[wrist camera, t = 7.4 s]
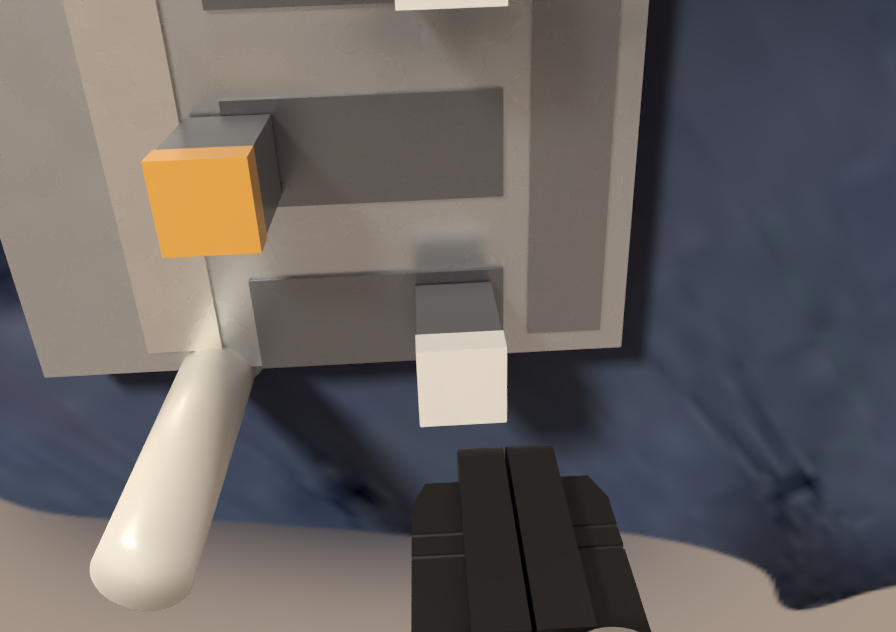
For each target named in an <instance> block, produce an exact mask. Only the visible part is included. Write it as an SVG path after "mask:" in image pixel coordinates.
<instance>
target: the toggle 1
mask: <svg viewBox="0 0 896 632" xmlns="http://www.w3.org/2000/svg"><path fill="white" fill-rule="evenodd" d="M141 164H142V169H143V173H144V178H145V182H146V187H147V192H148V196H149V201H150V205H151V210H152V214H153V219H154V224H155V228H156V233H157V237H158V242H159V246H160V251H161V256H162V258H176V257H196V256H217V255H237V254H257V253H262V251H263V249H264V246H265V244H266V241H267V232H268V230H269V227H270V225H271V222H272V219H273V217H274V214H275V212H276V209H277V206H278V204H279V201H280V199H281V196H282V192H281V185H280V177H279V170H278V163H277V155H276V148H275V141H274V133H273V126H272V119H271V114H262V115H239V116H216V117H194V118H184V120H183V121H182V122H181V123H180V124H179V125H178V126H177V127H176V128H175V129H174V130H173V131H172V133H171V134H170V135H169V136H168V137H167V138H166V139H165V140H164V141H163V142H162V143H161V145H160V146H159V147H158V148H157V149H156V150H152V151H151V152H150V153H149V154H148V155H147V156H146V157H145V158H144V159H143V160H142V161H141Z"/></svg>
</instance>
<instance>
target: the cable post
mask: <svg viewBox="0 0 896 632" xmlns="http://www.w3.org/2000/svg"><path fill="white" fill-rule="evenodd" d="M262 369H263V367H262V366H252V367H250V366H249V364H248V362H247V361H246V360H245V359H244V358H243V357H242V356H241V355H240V354H238V353H237V352H235V351H233V350H231V349H229V348H226V347H223V349H218V348H206V349H201V350H198V351H192V352H191V353H189V354H188V355H187V356H186V357H185V359H184V360H183V362H182V364H181V366H180V368H179V371H178V373H177V375H176V377H175V379H174V382H173V384H172V386H171V388H170V390H169V392H168V395H167V397H166V399H165V401H164V403H163V405H162V408H161V410H160V412H159V414H158V416H157V419H156V421H155V423H154V425H153V427H152V429H151V432H150V434H149V436H148V438H147V440H146V443H145V445H144V447H143V449H142V451H141V453H140V456H139V458H138V460H137V462H136V464H135V466H134V469H133V471H132V473H131V475H130V477H129V480H128V482H127V484H126V486H125V488H124V490H123V493H122V495H121V497H120V499H119V501H118V504H117V506H116V508H115V510H114V512H113V514H112V517H111V519H110V521H109V523H108V525H107V527H106V530H105V532H104V534H103V536H102V538H101V541H100V543H99V545H98V547H97V550H96V551H95V554H94V556H93V558H92V561H91V563H90V576H91V579H92V581H93V584H94V585H95V587H96V588H97V589H98V591H99V592H100V593H101V594H102V595H103V596H105V597H106V598H107V599H109V600H110V601H112V602H114V603H116V604H118V605H120V606H123V607H126V608H129V609H134V610H140V611H155V610H161V609H166V608H169V607H171V606H173V605H176V604H177V603H179V602H181V601H182V600H183V599H184V598H185V597H186V596H187V595H188V594H189V592H190V590H191V588H192V585H193V582H194V579H195V575H196V572H197V569H198V565H199V562H200V558H201V555H202V552H203V549H204V545H205V542H206V538H207V535H208V532H209V528H210V525H211V522H212V518H213V515H214V512H215V508H216V505H217V502H218V498H219V495H220V492H221V488H222V485H223V482H224V478H225V475H226V472H227V468H228V465H229V462H230V458H231V455H232V452H233V448H234V445H235V442H236V438H237V435H238V432H239V428H240V425H241V422H242V418H243V415H244V412H245V408H246V405H247V402H248V398H249V395H250V392H251V388H252V385H253V382H254V378H255V376H257V375H258V374H259V373H260V372H261V371H262Z"/></svg>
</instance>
